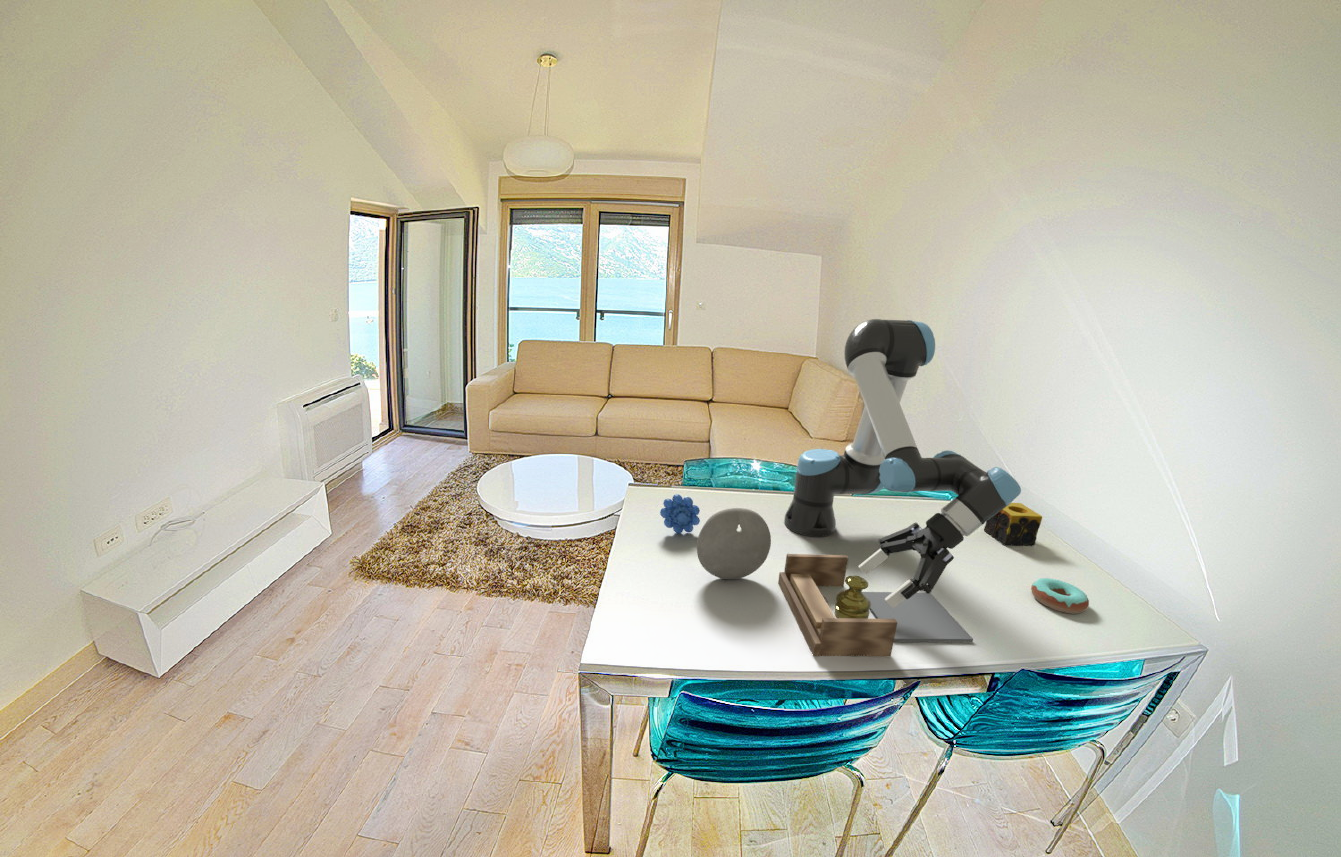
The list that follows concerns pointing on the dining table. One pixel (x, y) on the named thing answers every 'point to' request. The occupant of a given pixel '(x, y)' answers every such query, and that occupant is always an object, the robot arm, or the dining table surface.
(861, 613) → the gold rounded piece
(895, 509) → the dining table surface
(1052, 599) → the donut
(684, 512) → the blue flower
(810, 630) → the offcut rack
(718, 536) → the grey thick disc
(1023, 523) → the yellow brown cube
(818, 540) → the dining table surface
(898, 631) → the charcoal mat
